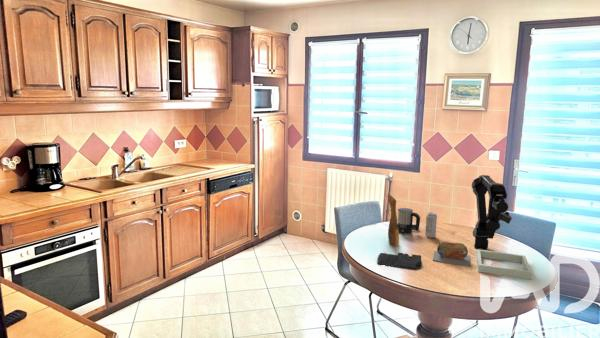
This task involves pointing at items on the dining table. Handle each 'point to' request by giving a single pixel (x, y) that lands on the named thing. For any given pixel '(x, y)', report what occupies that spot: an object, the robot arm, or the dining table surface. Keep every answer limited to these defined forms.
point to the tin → (452, 250)
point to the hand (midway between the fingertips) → (491, 235)
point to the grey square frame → (502, 270)
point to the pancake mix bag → (393, 223)
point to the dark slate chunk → (400, 261)
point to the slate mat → (449, 260)
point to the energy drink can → (431, 224)
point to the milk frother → (407, 221)
